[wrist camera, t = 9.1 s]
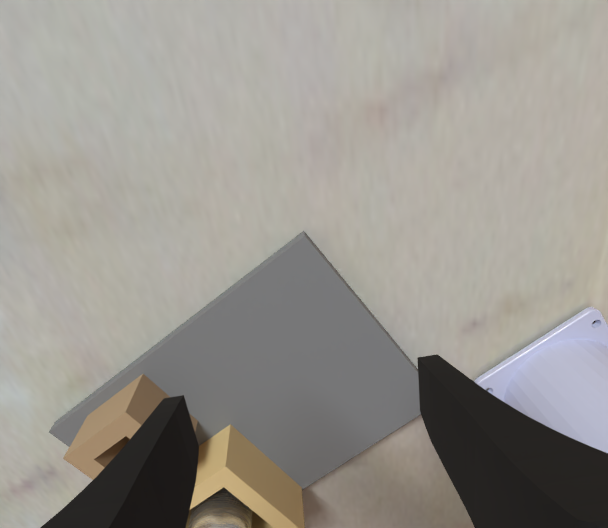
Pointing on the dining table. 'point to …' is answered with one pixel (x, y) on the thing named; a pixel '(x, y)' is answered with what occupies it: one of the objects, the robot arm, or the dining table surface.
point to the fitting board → (262, 387)
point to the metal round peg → (221, 512)
